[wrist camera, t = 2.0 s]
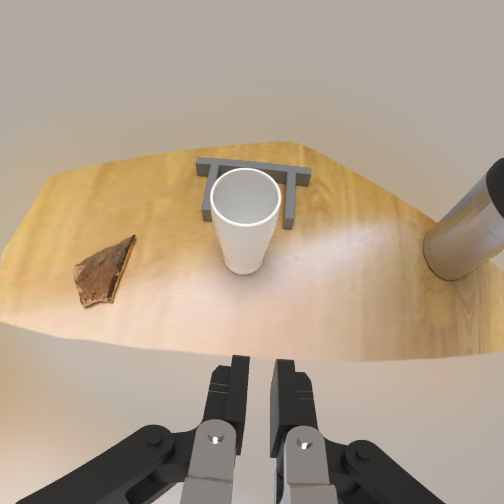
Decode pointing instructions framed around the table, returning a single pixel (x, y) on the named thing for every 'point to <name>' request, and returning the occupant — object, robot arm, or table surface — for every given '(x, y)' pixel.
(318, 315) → the table surface
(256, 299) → the table surface
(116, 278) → the shard
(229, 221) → the white cup
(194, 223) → the table surface
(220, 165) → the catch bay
